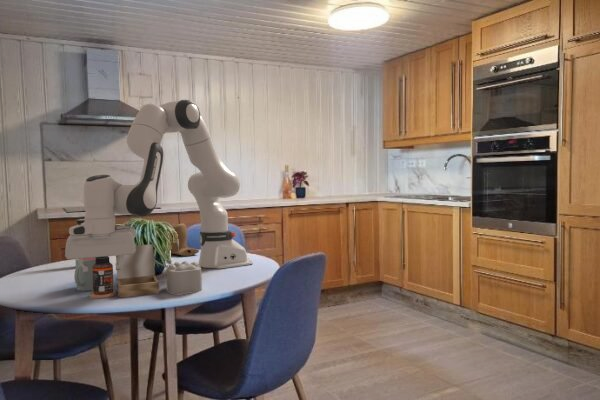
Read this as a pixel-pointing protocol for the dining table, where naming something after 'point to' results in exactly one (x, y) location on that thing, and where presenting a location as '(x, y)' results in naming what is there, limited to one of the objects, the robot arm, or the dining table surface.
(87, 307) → the dining table surface
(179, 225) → the brown boot
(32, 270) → the dining table surface
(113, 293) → the saucer
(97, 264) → the supplement bottle
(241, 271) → the dining table surface
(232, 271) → the dining table surface
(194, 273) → the lumpy-topped squat cylinder
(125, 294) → the cold frame
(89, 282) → the mug
